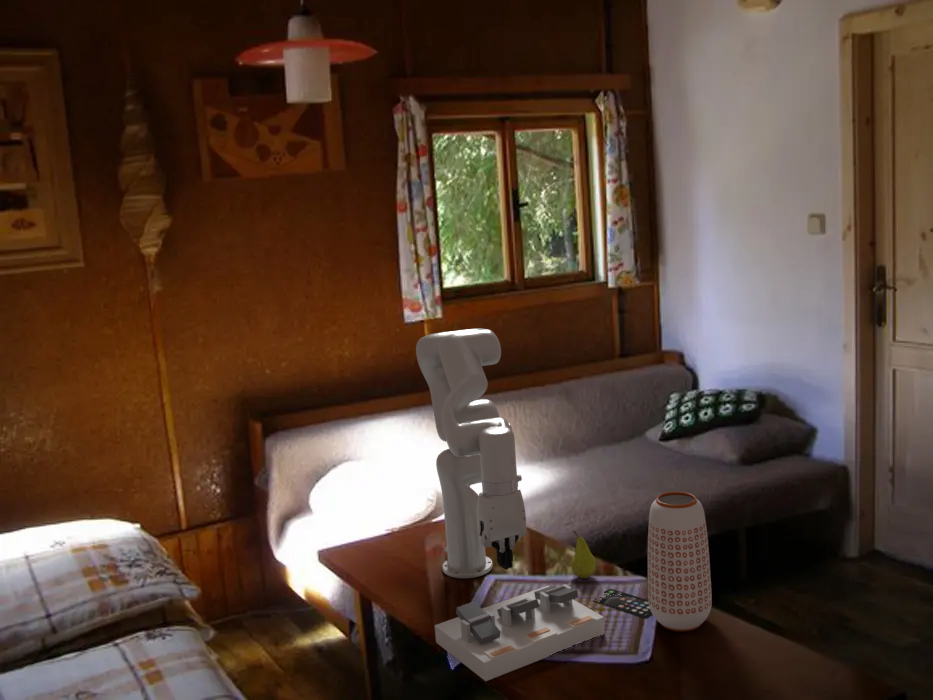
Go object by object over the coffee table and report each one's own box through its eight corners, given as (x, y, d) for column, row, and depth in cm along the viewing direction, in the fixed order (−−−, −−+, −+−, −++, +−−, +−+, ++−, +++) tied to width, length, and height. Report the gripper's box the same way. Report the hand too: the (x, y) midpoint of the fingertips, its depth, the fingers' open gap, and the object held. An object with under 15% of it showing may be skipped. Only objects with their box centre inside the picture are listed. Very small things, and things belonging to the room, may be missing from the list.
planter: (713, 638, 205) (710, 509, 200) (648, 636, 208) (643, 509, 202) (711, 608, 218) (707, 487, 212) (649, 607, 221) (644, 487, 215)
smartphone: (610, 588, 231) (664, 605, 221) (610, 590, 231) (664, 607, 221) (590, 599, 226) (645, 617, 215) (590, 602, 226) (645, 620, 216)
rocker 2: (499, 616, 213) (496, 607, 213) (516, 610, 215) (513, 601, 215) (521, 613, 204) (518, 603, 205) (539, 606, 206) (536, 596, 207)
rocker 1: (455, 613, 208) (456, 605, 207) (474, 606, 210) (475, 599, 209) (480, 644, 200) (481, 636, 199) (499, 637, 203) (500, 629, 202)
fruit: (600, 579, 237) (598, 532, 234) (579, 584, 234) (576, 537, 232) (589, 570, 242) (586, 524, 239) (568, 575, 240) (565, 529, 237)
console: (436, 642, 212) (433, 608, 211) (549, 601, 227) (547, 569, 225) (485, 681, 195) (482, 644, 194) (604, 634, 210) (602, 599, 208)
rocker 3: (535, 599, 218) (533, 589, 218) (552, 593, 220) (550, 583, 220) (561, 603, 209) (559, 593, 209) (578, 597, 211) (576, 587, 211)
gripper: (519, 473, 215) (524, 551, 219) (460, 489, 208) (466, 570, 211) (539, 481, 209) (544, 562, 212) (478, 498, 201) (485, 582, 205)
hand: (505, 566), depth 212 cm, fingers closed
